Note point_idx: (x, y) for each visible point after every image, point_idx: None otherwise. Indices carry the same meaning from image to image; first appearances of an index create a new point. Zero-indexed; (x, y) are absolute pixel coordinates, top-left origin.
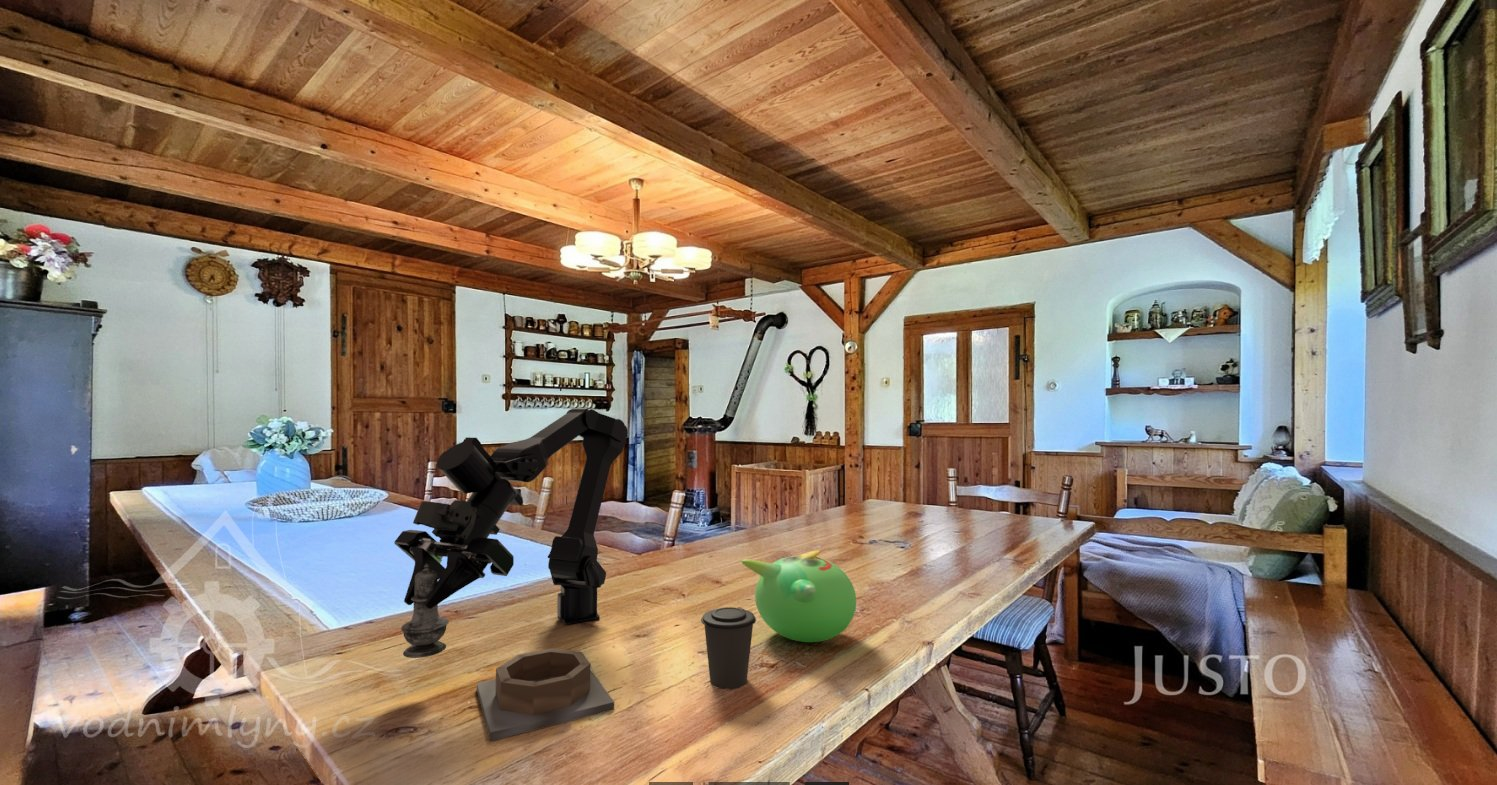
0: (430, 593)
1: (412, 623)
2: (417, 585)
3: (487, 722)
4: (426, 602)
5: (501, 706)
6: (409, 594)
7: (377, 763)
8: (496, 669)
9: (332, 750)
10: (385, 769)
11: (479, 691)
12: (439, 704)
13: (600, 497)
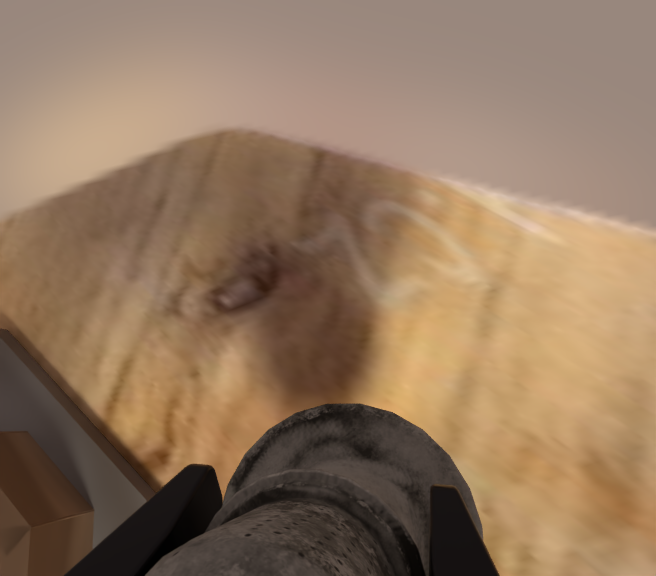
0: (157, 530)
1: (356, 457)
2: (269, 516)
3: (26, 365)
4: (188, 472)
5: (17, 432)
6: (430, 530)
7: (182, 170)
8: (25, 519)
9: (326, 160)
10: (149, 164)
11: None
12: None
13: None
